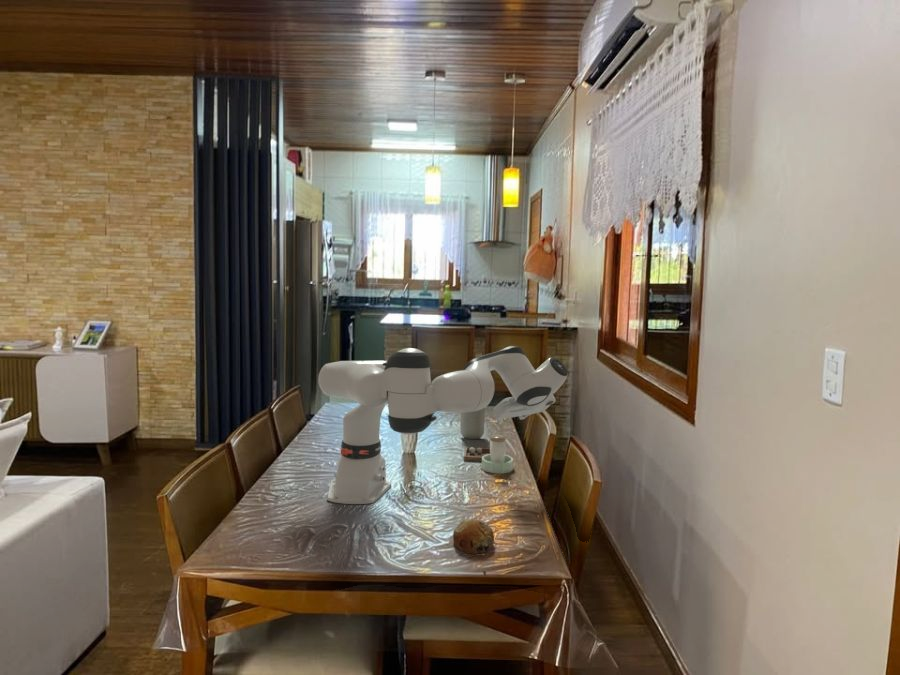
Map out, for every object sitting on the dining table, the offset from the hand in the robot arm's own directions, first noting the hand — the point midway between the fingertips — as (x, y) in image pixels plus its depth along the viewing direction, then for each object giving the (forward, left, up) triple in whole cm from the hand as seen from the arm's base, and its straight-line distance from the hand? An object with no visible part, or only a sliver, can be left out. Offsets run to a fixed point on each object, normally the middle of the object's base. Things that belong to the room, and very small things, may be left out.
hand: (510, 419), depth 198 cm
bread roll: (-52, +9, -19) cm, 56 cm away
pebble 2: (+20, +10, -18) cm, 28 cm away
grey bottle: (+42, +14, -19) cm, 48 cm away
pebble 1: (+19, +13, -18) cm, 29 cm away
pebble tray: (+16, +10, -19) cm, 27 cm away
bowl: (+5, +4, -19) cm, 20 cm away
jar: (+5, +4, -18) cm, 19 cm away
